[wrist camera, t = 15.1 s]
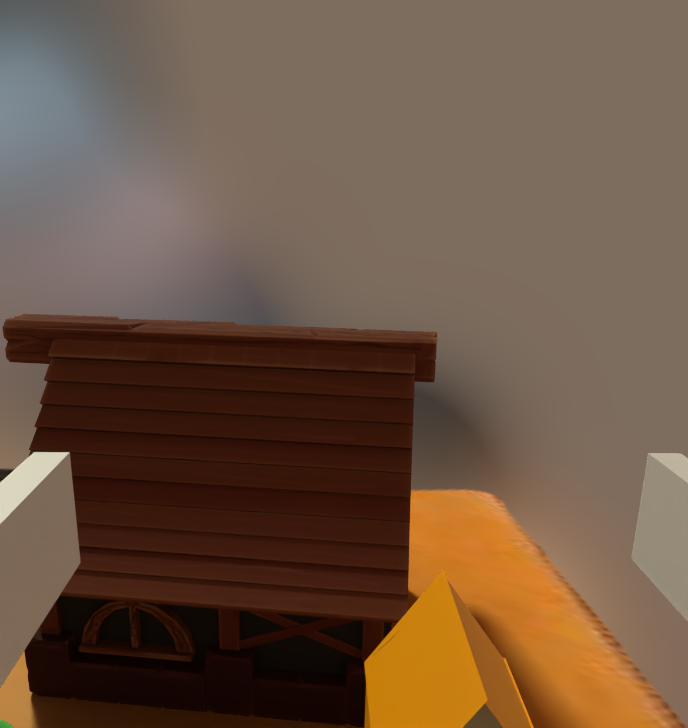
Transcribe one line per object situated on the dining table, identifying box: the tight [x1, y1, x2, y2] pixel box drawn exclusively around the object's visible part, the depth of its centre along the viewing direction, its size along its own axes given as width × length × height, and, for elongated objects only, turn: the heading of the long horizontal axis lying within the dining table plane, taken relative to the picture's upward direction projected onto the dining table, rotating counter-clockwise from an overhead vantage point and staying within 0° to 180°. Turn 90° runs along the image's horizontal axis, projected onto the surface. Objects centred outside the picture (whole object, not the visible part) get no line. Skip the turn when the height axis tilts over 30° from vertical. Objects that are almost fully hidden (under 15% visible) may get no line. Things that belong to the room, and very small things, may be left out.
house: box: [3, 314, 437, 727], centre depth 54 cm, size 35×28×29 cm
